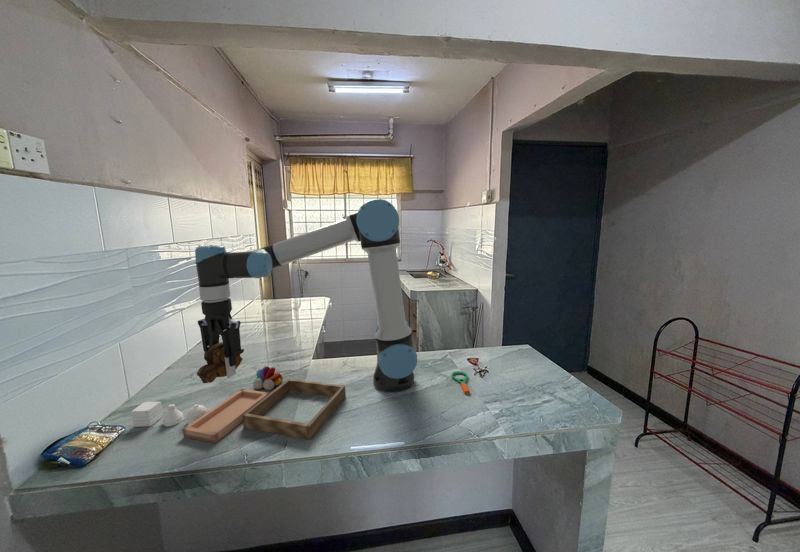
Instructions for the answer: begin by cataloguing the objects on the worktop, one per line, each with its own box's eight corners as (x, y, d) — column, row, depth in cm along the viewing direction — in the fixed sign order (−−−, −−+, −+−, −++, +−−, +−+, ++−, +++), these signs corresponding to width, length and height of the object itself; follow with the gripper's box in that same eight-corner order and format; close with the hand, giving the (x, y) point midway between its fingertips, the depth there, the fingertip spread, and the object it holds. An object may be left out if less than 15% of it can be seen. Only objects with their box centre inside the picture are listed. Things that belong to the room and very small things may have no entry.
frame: (345, 396, 105) (345, 385, 105) (310, 439, 84) (309, 426, 84) (289, 389, 111) (288, 378, 111) (243, 427, 90) (242, 415, 90)
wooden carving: (212, 389, 85) (207, 355, 84) (197, 389, 86) (192, 355, 84) (249, 363, 101) (245, 334, 100) (236, 363, 102) (232, 334, 100)
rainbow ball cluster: (273, 392, 110) (271, 373, 108) (249, 390, 111) (247, 371, 110) (287, 380, 118) (285, 362, 117) (264, 378, 120) (262, 361, 118)
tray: (269, 399, 105) (268, 392, 104) (215, 443, 84) (214, 435, 84) (242, 395, 108) (242, 388, 107) (183, 437, 87) (182, 428, 87)
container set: (133, 428, 92) (130, 411, 91) (147, 417, 97) (144, 401, 96) (201, 426, 92) (199, 409, 91) (212, 415, 97) (209, 399, 96)
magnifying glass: (449, 374, 120) (450, 370, 120) (465, 373, 120) (465, 369, 120) (458, 395, 105) (458, 391, 105) (476, 395, 105) (476, 390, 105)
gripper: (250, 297, 91) (257, 372, 95) (204, 295, 96) (213, 366, 100) (229, 303, 84) (239, 384, 88) (181, 301, 89) (191, 377, 92)
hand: (225, 374), depth 94 cm, fingers closed on wooden carving, 4 cm apart
